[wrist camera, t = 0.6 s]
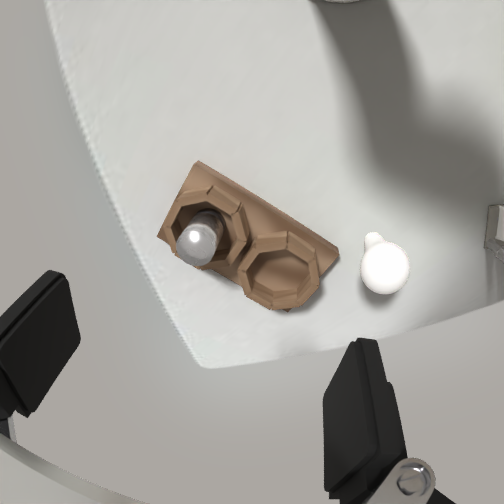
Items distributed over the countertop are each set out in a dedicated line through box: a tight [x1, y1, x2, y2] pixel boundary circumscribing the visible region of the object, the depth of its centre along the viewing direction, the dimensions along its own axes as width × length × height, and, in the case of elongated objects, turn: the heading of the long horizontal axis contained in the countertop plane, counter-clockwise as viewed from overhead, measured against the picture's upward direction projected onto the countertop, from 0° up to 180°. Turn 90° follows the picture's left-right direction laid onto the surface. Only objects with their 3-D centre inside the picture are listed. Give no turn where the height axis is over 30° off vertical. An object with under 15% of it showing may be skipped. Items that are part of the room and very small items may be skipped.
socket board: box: [157, 161, 339, 312], centre depth 42 cm, size 12×22×5 cm, turn 59°
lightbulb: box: [360, 232, 410, 294], centre depth 37 cm, size 6×6×11 cm
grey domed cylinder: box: [176, 208, 226, 266], centre depth 39 cm, size 4×4×7 cm
